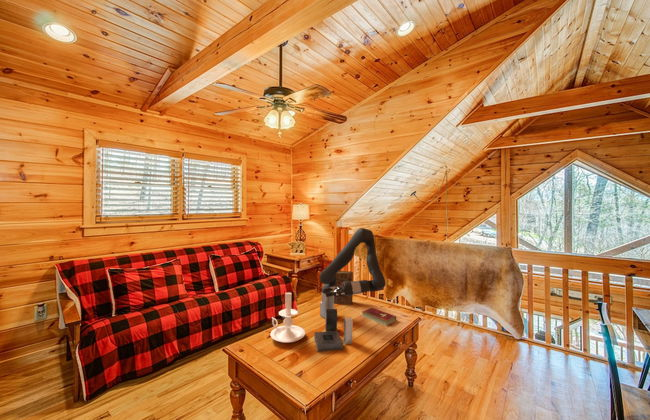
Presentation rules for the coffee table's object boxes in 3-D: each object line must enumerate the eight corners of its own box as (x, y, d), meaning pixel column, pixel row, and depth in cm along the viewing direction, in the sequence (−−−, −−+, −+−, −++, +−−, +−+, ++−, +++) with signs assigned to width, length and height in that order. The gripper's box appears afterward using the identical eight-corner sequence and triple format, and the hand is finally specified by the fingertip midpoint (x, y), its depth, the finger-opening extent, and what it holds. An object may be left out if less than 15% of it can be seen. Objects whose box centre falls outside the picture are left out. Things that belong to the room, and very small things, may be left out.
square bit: (345, 344, 158) (345, 320, 157) (343, 340, 162) (344, 317, 161) (352, 343, 158) (352, 320, 158) (350, 340, 162) (350, 317, 162)
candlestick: (283, 324, 180) (284, 283, 179) (312, 337, 165) (313, 291, 164) (258, 336, 164) (259, 291, 163) (287, 351, 149) (288, 301, 148)
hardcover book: (371, 312, 204) (371, 306, 204) (396, 321, 190) (396, 315, 189) (361, 316, 196) (361, 311, 196) (386, 327, 181) (386, 320, 181)
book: (331, 303, 219) (332, 272, 218) (332, 300, 225) (333, 270, 224) (352, 304, 217) (353, 273, 216) (352, 301, 223) (353, 271, 222)
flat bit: (326, 331, 172) (326, 310, 172) (325, 329, 175) (325, 308, 174) (336, 330, 174) (337, 309, 173) (336, 328, 176) (336, 308, 175)
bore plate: (317, 351, 149) (317, 344, 149) (314, 338, 163) (314, 332, 163) (342, 349, 152) (342, 342, 151) (337, 337, 165) (337, 330, 165)
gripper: (348, 279, 167) (322, 283, 165) (354, 285, 153) (325, 289, 151) (349, 291, 167) (323, 295, 165) (355, 298, 153) (327, 303, 151)
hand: (324, 292), depth 158 cm, fingers open, 8 cm apart
